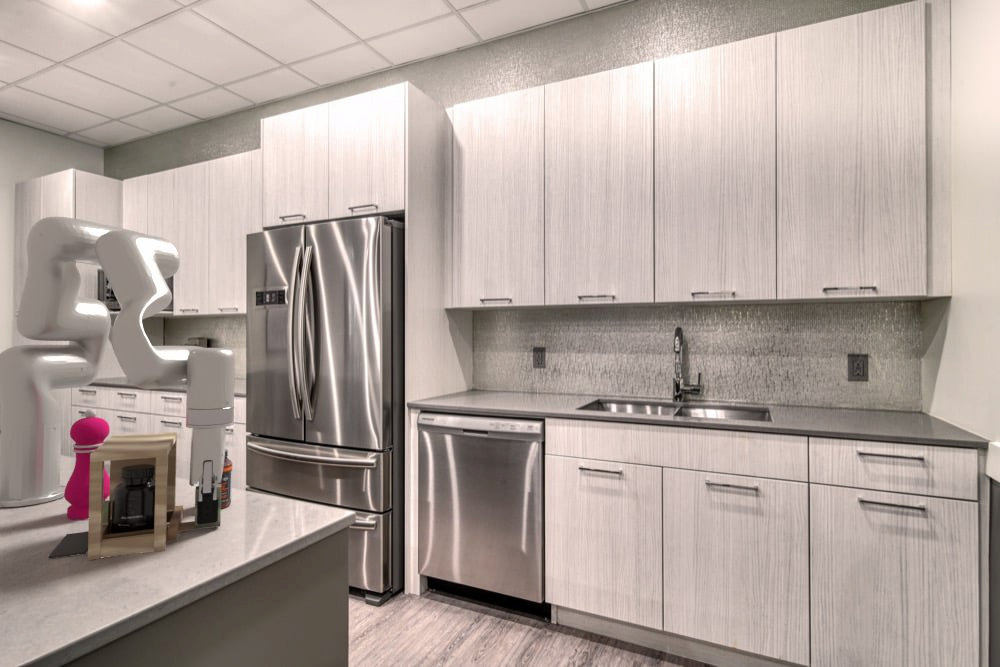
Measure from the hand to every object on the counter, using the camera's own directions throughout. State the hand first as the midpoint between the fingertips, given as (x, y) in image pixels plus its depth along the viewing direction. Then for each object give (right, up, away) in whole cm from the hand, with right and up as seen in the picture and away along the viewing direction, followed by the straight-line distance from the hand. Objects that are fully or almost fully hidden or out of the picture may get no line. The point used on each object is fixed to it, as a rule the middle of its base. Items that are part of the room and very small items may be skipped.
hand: (207, 519), depth 96 cm
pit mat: (-17, -1, -8) cm, 19 cm away
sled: (-6, -1, -3) cm, 7 cm away
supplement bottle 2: (-5, -2, +12) cm, 13 cm away
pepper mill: (-26, -1, +6) cm, 27 cm away
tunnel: (-10, -1, -5) cm, 11 cm away
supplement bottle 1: (-10, -2, -5) cm, 11 cm away
